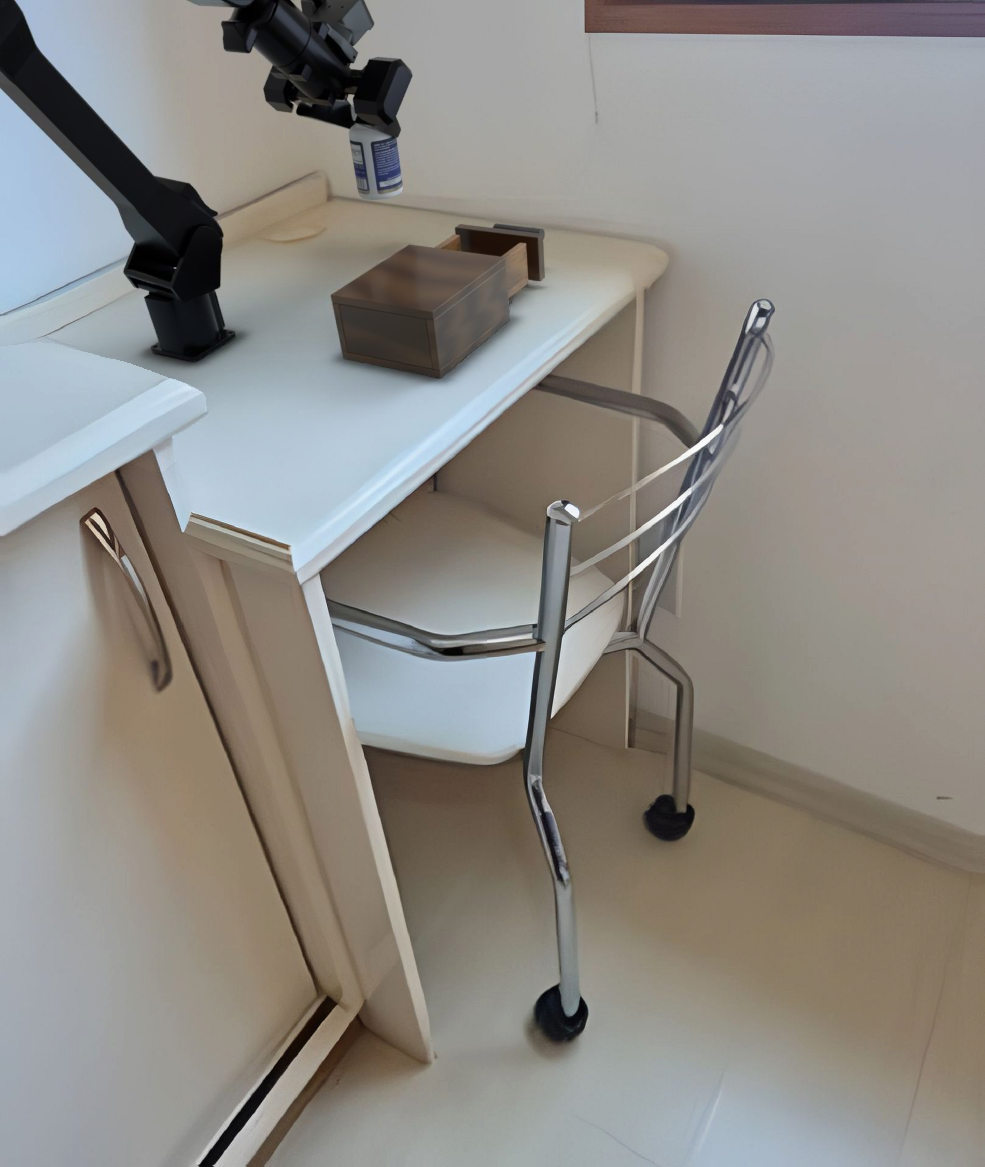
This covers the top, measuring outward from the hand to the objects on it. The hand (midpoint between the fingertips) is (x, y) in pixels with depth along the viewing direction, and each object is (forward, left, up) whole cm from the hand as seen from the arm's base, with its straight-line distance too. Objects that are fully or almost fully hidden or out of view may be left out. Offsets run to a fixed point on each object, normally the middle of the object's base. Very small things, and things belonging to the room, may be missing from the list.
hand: (381, 131), depth 107 cm
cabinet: (-21, -18, -13) cm, 31 cm away
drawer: (-9, -18, -12) cm, 24 cm away
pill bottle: (-1, 0, -7) cm, 7 cm away
